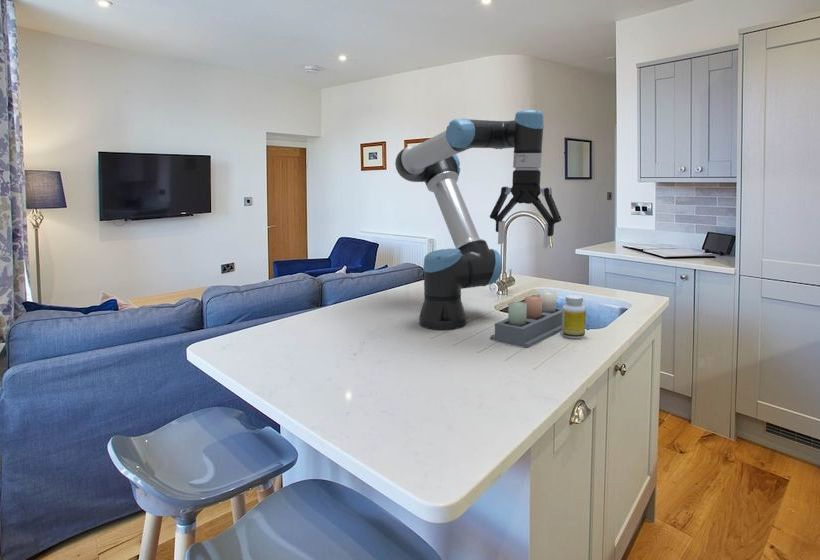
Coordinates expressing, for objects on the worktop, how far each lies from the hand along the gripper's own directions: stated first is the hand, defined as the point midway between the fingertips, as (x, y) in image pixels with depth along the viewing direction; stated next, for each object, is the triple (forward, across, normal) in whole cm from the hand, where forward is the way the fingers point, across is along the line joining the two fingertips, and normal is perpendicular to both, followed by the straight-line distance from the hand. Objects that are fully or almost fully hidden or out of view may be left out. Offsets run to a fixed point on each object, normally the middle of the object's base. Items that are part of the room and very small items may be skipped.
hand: (523, 245), depth 143 cm
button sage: (+22, +2, -6) cm, 23 cm away
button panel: (+26, +3, +3) cm, 27 cm away
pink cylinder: (+22, +3, +3) cm, 22 cm away
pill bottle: (+26, +14, +5) cm, 30 cm away
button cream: (+22, +4, +12) cm, 25 cm away
